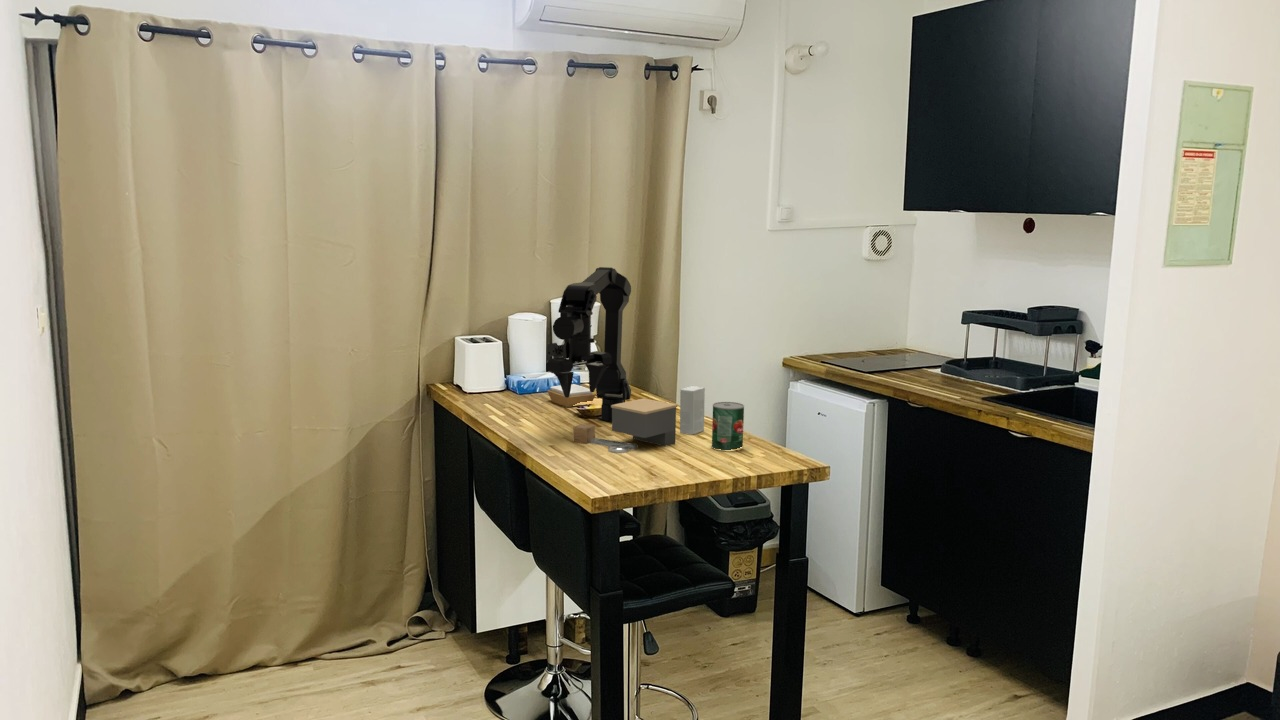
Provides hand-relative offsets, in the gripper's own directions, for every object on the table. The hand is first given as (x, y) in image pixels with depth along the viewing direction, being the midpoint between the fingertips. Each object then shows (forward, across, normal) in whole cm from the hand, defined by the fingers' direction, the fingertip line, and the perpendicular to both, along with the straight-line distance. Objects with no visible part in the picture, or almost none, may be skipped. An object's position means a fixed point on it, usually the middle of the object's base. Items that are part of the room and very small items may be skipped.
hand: (579, 394), depth 252 cm
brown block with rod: (+12, -1, +9) cm, 15 cm away
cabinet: (+12, -8, +15) cm, 21 cm away
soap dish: (+13, -30, -33) cm, 47 cm away
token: (+12, +2, +15) cm, 19 cm away
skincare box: (+12, -27, +16) cm, 33 cm away
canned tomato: (+12, -20, +33) cm, 40 cm away
